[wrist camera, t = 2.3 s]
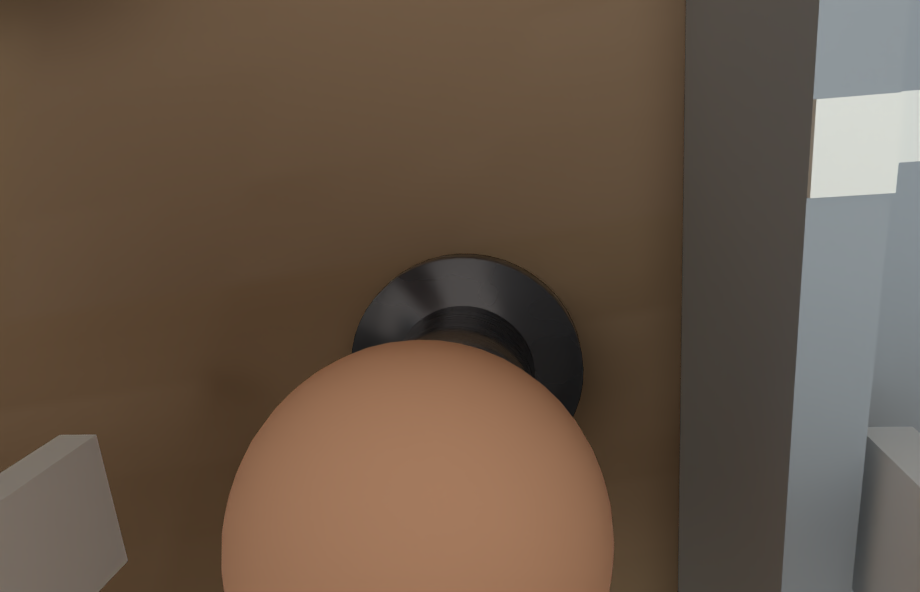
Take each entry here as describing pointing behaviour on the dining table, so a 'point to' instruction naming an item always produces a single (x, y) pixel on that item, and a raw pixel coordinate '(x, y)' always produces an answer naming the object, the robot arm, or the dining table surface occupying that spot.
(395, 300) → the tee
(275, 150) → the dining table surface
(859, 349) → the lane
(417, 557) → the ball
